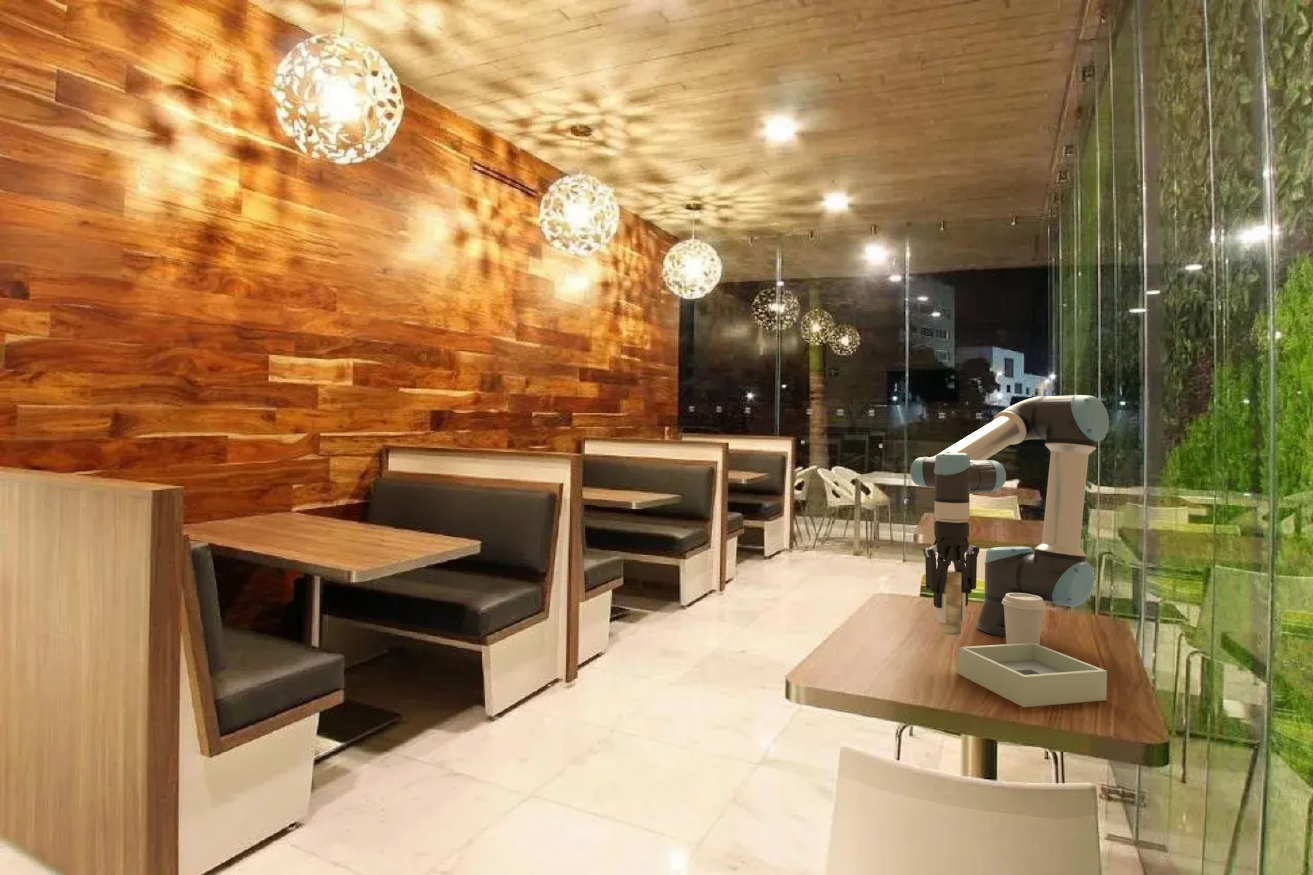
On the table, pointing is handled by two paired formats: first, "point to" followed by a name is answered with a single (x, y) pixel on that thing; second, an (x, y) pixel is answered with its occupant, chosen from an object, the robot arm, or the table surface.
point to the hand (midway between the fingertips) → (950, 620)
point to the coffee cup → (1023, 617)
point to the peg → (952, 604)
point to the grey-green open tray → (1032, 674)
